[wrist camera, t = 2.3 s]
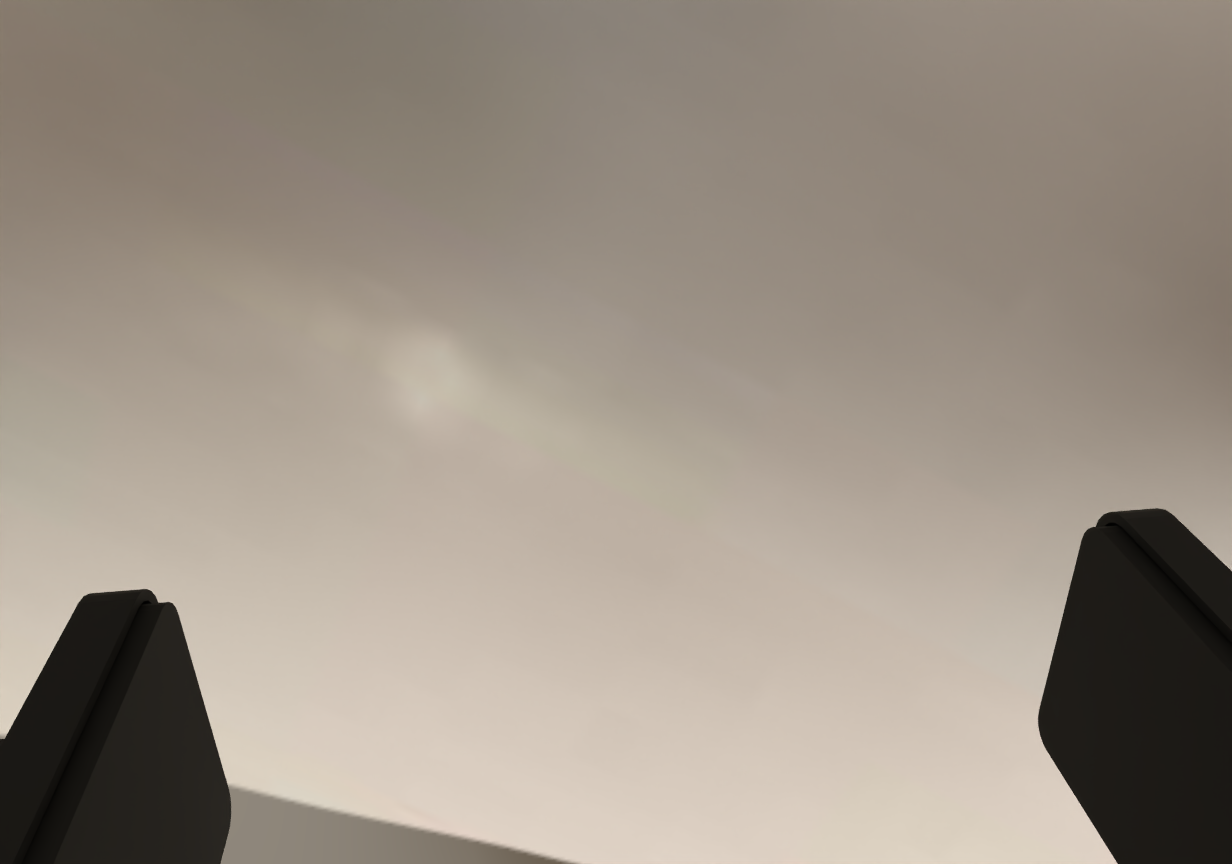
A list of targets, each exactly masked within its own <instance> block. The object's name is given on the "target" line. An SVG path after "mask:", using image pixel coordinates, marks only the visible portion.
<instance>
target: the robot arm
mask: <svg viewBox="0 0 1232 864" xmlns="http://www.w3.org/2000/svg"><path fill="white" fill-rule="evenodd" d="M1038 726H1039V731H1040V736H1041V739H1042V742H1043V744H1044V746H1045V748H1046V750H1047V752H1048V753H1049V755H1050V756H1051V758H1052V760H1053V761H1054V763H1055V764H1056V766H1057V768H1058V769H1059V771H1060V772H1061V774H1062V776H1063V777H1064V779H1065V780H1066V782H1067V784H1068V785H1069V787H1070V788H1071V790H1072V791H1073V793H1074V795H1075V796H1076V798H1077V799H1078V801H1079V803H1080V804H1081V806H1082V807H1083V809H1084V811H1085V812H1086V814H1087V815H1088V817H1089V819H1090V820H1091V822H1092V823H1093V825H1094V827H1095V828H1096V830H1097V831H1098V833H1099V835H1100V836H1101V838H1102V839H1103V841H1104V843H1105V844H1106V846H1107V847H1108V849H1109V851H1110V852H1111V854H1112V855H1113V857H1114V858H1115V860H1116V862H1117V863H1118V864H1232V571H1231V570H1230V569H1229V568H1228V567H1227V566H1226V565H1225V564H1224V563H1223V562H1221V561H1220V560H1219V559H1218V558H1217V557H1216V556H1215V555H1214V554H1213V553H1212V552H1211V551H1210V550H1209V549H1208V548H1207V547H1206V546H1205V545H1204V544H1203V543H1202V542H1201V541H1200V540H1199V539H1198V538H1196V537H1195V536H1194V535H1193V534H1192V533H1191V532H1190V531H1189V530H1188V529H1187V528H1186V527H1185V526H1184V525H1183V524H1182V523H1181V522H1180V521H1179V520H1178V519H1177V518H1176V517H1175V516H1174V515H1172V514H1171V513H1169V512H1168V511H1166V510H1164V509H1158V508H1156V509H1143V510H1131V511H1118V512H1109V513H1107V514H1104V515H1103V516H1102V517H1101V518H1100V519H1099V520H1098V523H1097V525H1096V527H1092V528H1090V529H1088V530H1087V531H1086V532H1085V533H1084V536H1083V538H1082V541H1081V545H1080V549H1079V553H1078V557H1077V561H1076V565H1075V569H1074V573H1073V577H1072V581H1071V585H1070V589H1069V593H1068V597H1067V601H1066V605H1065V609H1064V613H1063V617H1062V621H1061V625H1060V629H1059V633H1058V637H1057V641H1056V645H1055V649H1054V653H1053V657H1052V661H1051V665H1050V669H1049V673H1048V677H1047V681H1046V685H1045V689H1044V693H1043V697H1042V701H1041V705H1040V709H1039V715H1038ZM230 819H231V799H230V793H229V788H228V785H227V781H226V778H225V774H224V771H223V768H222V764H221V761H220V757H219V754H218V750H217V747H216V743H215V740H214V736H213V733H212V729H211V726H210V722H209V719H208V716H207V712H206V709H205V705H204V702H203V698H202V695H201V691H200V688H199V684H198V681H197V677H196V674H195V670H194V667H193V663H192V660H191V657H190V653H189V650H188V646H187V643H186V639H185V636H184V632H183V629H182V625H181V622H180V618H179V615H178V612H177V610H176V607H175V606H174V605H173V603H170V602H165V603H158V601H157V599H156V596H155V595H154V594H153V593H152V591H150V590H147V589H141V590H129V591H116V592H104V593H91V594H88V595H86V596H84V597H83V598H82V599H81V601H80V602H79V603H78V605H77V607H76V609H75V610H74V612H73V614H72V616H71V618H70V620H69V622H68V623H67V625H66V627H65V629H64V631H63V633H62V634H61V636H60V638H59V640H58V642H57V644H56V645H55V647H54V649H53V651H52V653H51V655H50V657H49V658H48V660H47V662H46V664H45V666H44V668H43V669H42V671H41V673H40V675H39V677H38V679H37V680H36V682H35V684H34V686H33V688H32V690H31V691H30V693H29V695H28V697H27V699H26V701H25V703H24V704H23V706H22V708H21V710H20V712H19V714H18V715H17V717H16V719H15V721H14V723H13V725H12V726H11V728H10V730H9V732H8V734H7V736H6V738H5V739H0V864H220V863H221V859H222V855H223V851H224V848H225V844H226V840H227V836H228V832H229V827H230Z"/></svg>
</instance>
